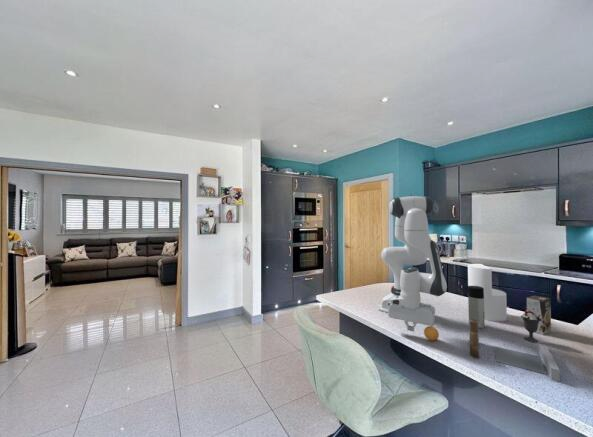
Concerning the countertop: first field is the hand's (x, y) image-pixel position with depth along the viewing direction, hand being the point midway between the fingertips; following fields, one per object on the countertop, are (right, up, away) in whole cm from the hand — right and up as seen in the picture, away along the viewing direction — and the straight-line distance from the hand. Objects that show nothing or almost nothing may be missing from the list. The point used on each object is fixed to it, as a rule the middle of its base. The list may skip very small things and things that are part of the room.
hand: (410, 330), depth 118 cm
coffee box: (+65, -2, +3) cm, 65 cm away
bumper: (+39, -2, -26) cm, 47 cm away
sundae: (+52, -2, -6) cm, 52 cm away
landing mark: (+32, -2, -21) cm, 39 cm away
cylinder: (+54, -2, +23) cm, 59 cm away
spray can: (+38, -2, +10) cm, 40 cm away
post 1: (+25, -2, -8) cm, 26 cm away
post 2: (+17, -2, -19) cm, 25 cm away
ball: (+7, +1, -5) cm, 9 cm away
